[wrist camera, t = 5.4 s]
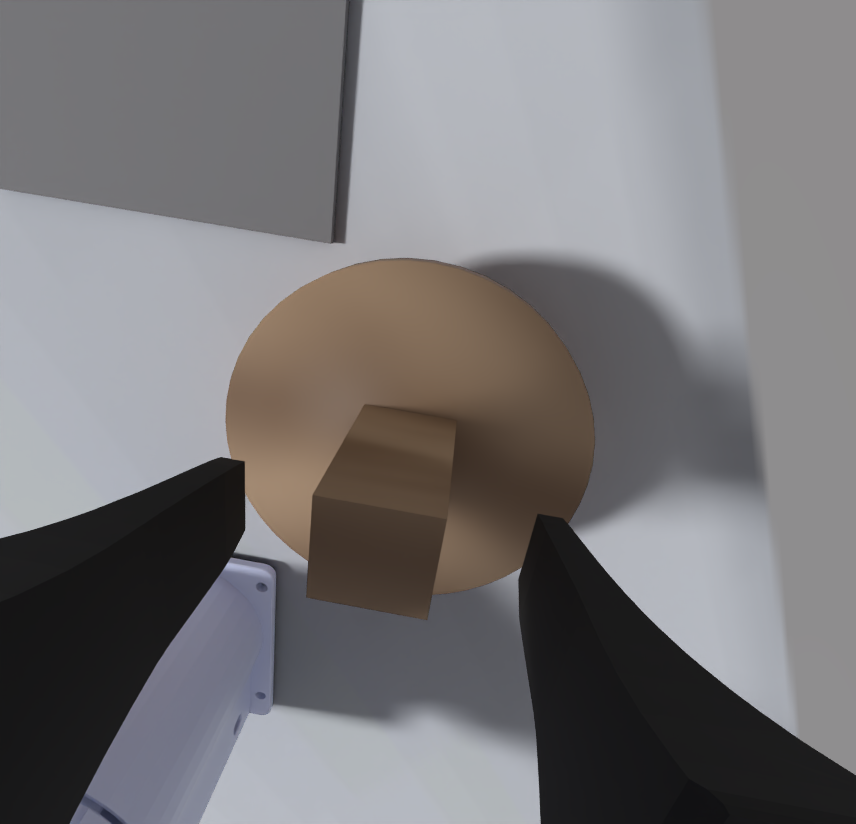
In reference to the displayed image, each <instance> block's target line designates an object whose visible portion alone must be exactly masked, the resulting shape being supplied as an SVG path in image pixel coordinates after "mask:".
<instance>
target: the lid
mask: <svg viewBox="0 0 856 824" xmlns="http://www.w3.org/2000/svg"><path fill="white" fill-rule="evenodd" d="M226 431H227V441H228V446H229V451H230V455H231V459H234V460H240V461H245V493H246V495H247V497H248V499H249V501H250V502H251V504H252V505H253V507H254V508H255V510H256V511H257V513H258V514H259V515H260V517H261V518H262V520H263V521H264V522H265V523H266V524H267V525H268V526H269V528H270V529H271V530H272V531H273V532H274V533H275V534H276V535H277V536H278V537H279V538H280V539H281V540H282V541H283V542H284V543H285V544H287V545H288V546H289V547H290V548H291V549H292V550H294V551H295V552H296V553H298V554H299V555H300V556H302V557H303V558H304V559H306V560H307V561H308V577H307V593H306V598H312V599H317V600H322V601H328V602H333V603H339V604H344V605H349V606H355V607H360V608H365V609H371V610H376V611H381V612H387V613H392V614H397V615H403V616H408V617H413V618H419V619H424V620H427V618H428V613H429V608H430V603H431V598H432V595H435V594H447V593H453V592H459V591H464V590H469V589H472V588H476V587H479V586H483V585H486V584H489V583H491V582H493V581H496V580H498V579H501V578H503V577H505V576H507V575H509V574H511V573H512V572H514V571H516V570H518V569H520V568H521V567H522V566H523V562H524V559H525V555H526V552H527V548H528V545H529V541H530V538H531V535H532V531H533V528H534V524H535V521H536V517H537V514H543V515H548V516H554V517H559V518H563V519H564V520H565V521H566V522H567V524H568V523H569V521H570V520H571V518H572V516H573V515H574V513H575V511H576V510H577V508H578V506H579V504H580V502H581V500H582V497H583V495H584V492H585V490H586V487H587V485H588V481H589V477H590V473H591V469H592V465H593V456H594V446H595V436H594V419H593V414H592V409H591V404H590V399H589V395H588V392H587V390H586V387H585V384H584V382H583V379H582V376H581V374H580V371H579V370H578V368H577V366H576V364H575V362H574V361H573V359H572V357H571V355H570V353H569V351H568V350H567V348H566V347H565V345H564V344H563V342H562V341H561V339H560V338H559V337H558V335H557V334H556V333H555V331H554V330H553V329H552V327H551V326H550V325H549V323H548V322H547V321H546V320H545V319H544V318H543V317H542V316H541V315H540V314H539V313H538V312H537V311H536V310H535V309H534V308H533V307H532V306H531V305H530V304H528V303H527V302H526V301H524V300H523V299H522V298H520V297H519V296H518V295H516V294H515V293H513V292H512V291H511V290H509V289H508V288H506V287H504V286H502V285H501V284H499V283H497V282H495V281H493V280H492V279H490V278H488V277H486V276H484V275H481V274H479V273H476V272H473V271H471V270H468V269H466V268H463V267H460V266H456V265H452V264H448V263H443V262H439V261H435V260H424V259H414V258H395V259H380V260H374V261H369V262H363V263H358V264H354V265H351V266H348V267H345V268H342V269H340V270H337V271H334V272H331V273H329V274H327V275H324V276H322V277H320V278H318V279H316V280H314V281H312V282H311V283H309V284H307V285H305V286H303V287H301V288H299V289H298V290H297V291H295V292H294V293H292V294H291V295H289V296H288V297H287V298H285V299H284V300H282V301H281V302H280V303H279V304H278V305H277V306H276V307H275V308H274V309H273V310H272V311H271V312H270V313H269V314H268V315H266V316H265V317H264V318H263V320H262V321H261V322H260V324H259V325H258V326H257V328H256V329H255V330H254V331H253V333H252V334H251V335H250V337H249V338H248V340H247V342H246V344H245V346H244V348H243V350H242V351H241V353H240V355H239V357H238V359H237V362H236V365H235V368H234V371H233V373H232V376H231V380H230V385H229V390H228V395H227V401H226Z"/></svg>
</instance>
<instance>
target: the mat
mask: <svg viewBox="0 0 856 824" xmlns="http://www.w3.org/2000/svg"><path fill="white" fill-rule="evenodd" d="M348 11H349V0H0V189H5V190H11V191H17V192H23V193H29V194H35V195H41V196H47V197H53V198H59V199H65V200H71V201H77V202H83V203H89V204H95V205H101V206H107V207H113V208H119V209H125V210H131V211H137V212H143V213H149V214H155V215H161V216H167V217H174V218H180V219H186V220H192V221H198V222H204V223H210V224H216V225H222V226H228V227H234V228H240V229H246V230H252V231H258V232H264V233H270V234H276V235H282V236H288V237H294V238H300V239H306V240H312V241H318V242H324V243H330V244H331V243H333V242H334V227H335V211H336V196H337V180H338V165H339V150H340V134H341V119H342V103H343V88H344V72H345V57H346V42H347V26H348Z"/></svg>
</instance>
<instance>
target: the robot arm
mask: <svg viewBox="0 0 856 824" xmlns="http://www.w3.org/2000/svg"><path fill="white" fill-rule="evenodd" d="M244 531H245V461H240V460H234V459H228V458H223V457H220V458H217V459H214V460H211V461H209V462H206V463H204V464H202V465H199V466H197V467H195V468H192V469H190V470H188V471H186V472H183V473H181V474H179V475H177V476H174V477H172V478H170V479H168V480H165V481H163V482H161V483H158V484H156V485H154V486H152V487H149V488H147V489H145V490H142V491H140V492H138V493H135V494H133V495H130V496H127V497H125V498H122V499H120V500H117V501H115V502H112V503H110V504H107V505H105V506H102V507H100V508H97V509H95V510H92V511H89V512H86V513H84V514H81V515H78V516H75V517H72V518H69V519H66V520H63V521H60V522H57V523H53V524H50V525H47V526H44V527H41V528H37V529H34V530H31V531H27V532H23V533H19V534H16V535H12V536H8V537H4V538H0V824H199V822H200V820H201V818H202V815H203V813H204V811H205V809H206V807H207V804H208V802H209V800H210V798H211V795H212V793H213V791H214V789H215V787H216V784H217V782H218V780H219V778H220V776H221V773H222V771H223V769H224V767H225V765H226V762H227V760H228V758H229V756H230V753H231V751H232V749H233V747H234V745H235V742H236V740H237V738H238V736H239V734H240V731H241V729H242V727H243V725H244V722H245V720H246V718H247V716H248V714H249V713H254V714H259V715H266V714H268V713H269V712H270V710H271V708H272V705H273V678H274V639H275V601H276V572H275V570H274V569H273V568H272V567H271V566H270V565H267V564H263V563H257V562H252V561H247V560H241V559H236V558H231V556H232V554H233V552H234V551H235V549H236V547H237V545H238V543H239V541H240V539H241V537H242V535H243V533H244ZM261 583H264V584H265V585H263V584H261ZM519 619H520V626H521V633H522V640H523V647H524V653H525V660H526V666H527V673H528V679H529V686H530V692H531V699H532V705H533V712H534V720H535V729H536V739H537V757H538V774H539V793H540V816H541V824H856V775H854V774H853V773H851V772H850V771H848V770H846V769H844V768H843V767H842V766H840V765H839V764H837V763H835V762H834V761H832V760H831V759H829V758H828V757H826V756H824V755H823V754H821V753H820V752H818V751H816V750H815V749H813V748H812V747H810V746H809V745H807V744H806V743H804V742H803V741H801V740H800V739H798V738H797V737H795V736H794V735H792V734H791V733H789V732H788V731H787V730H785V729H784V728H782V727H781V726H779V725H778V724H777V723H775V722H774V721H772V720H771V719H770V718H768V717H767V716H765V715H764V714H763V713H761V712H760V711H758V710H757V709H756V708H754V707H753V706H752V705H750V704H749V703H748V702H746V701H745V700H744V699H742V698H741V697H740V696H738V695H737V694H736V693H734V692H733V691H732V690H730V689H729V688H728V687H727V686H725V685H724V684H723V683H722V682H720V681H719V680H718V679H717V678H716V677H714V676H713V675H712V674H711V673H709V672H708V671H707V670H706V669H704V668H703V667H702V666H701V665H699V664H698V663H697V662H696V661H695V660H694V659H692V658H691V657H690V656H689V655H688V654H687V653H685V652H684V651H683V650H682V649H681V648H680V647H679V646H678V645H677V644H676V643H675V642H673V641H672V640H671V639H670V638H669V637H668V636H667V635H666V634H665V633H664V632H663V631H662V630H661V629H659V628H658V627H657V626H656V625H655V624H654V623H653V622H652V621H651V620H650V619H649V618H648V617H647V616H646V615H645V614H644V613H643V612H642V611H641V610H640V609H639V607H638V606H637V605H636V604H635V603H634V602H633V601H632V600H631V599H630V598H629V597H628V596H627V595H626V594H625V593H624V591H623V590H622V589H621V588H620V587H619V586H618V585H617V584H616V582H615V581H614V580H613V579H612V578H611V577H610V575H609V574H608V573H607V572H606V571H605V570H604V568H603V567H602V566H601V565H600V564H599V562H598V561H597V560H596V559H595V557H594V556H593V555H592V554H591V552H590V551H589V550H588V549H587V547H586V546H585V545H584V544H583V542H582V541H581V540H580V539H579V537H578V536H577V535H576V534H575V532H574V531H573V530H572V528H571V527H570V526H569V525H568V524H567V522H566V521H565V520H564V519H563V518H559V517H554V516H548V515H543V514H537V517H536V521H535V524H534V528H533V531H532V535H531V538H530V541H529V545H528V548H527V552H526V555H525V559H524V562H523V566H522V569H521V573H520V576H519Z"/></svg>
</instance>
